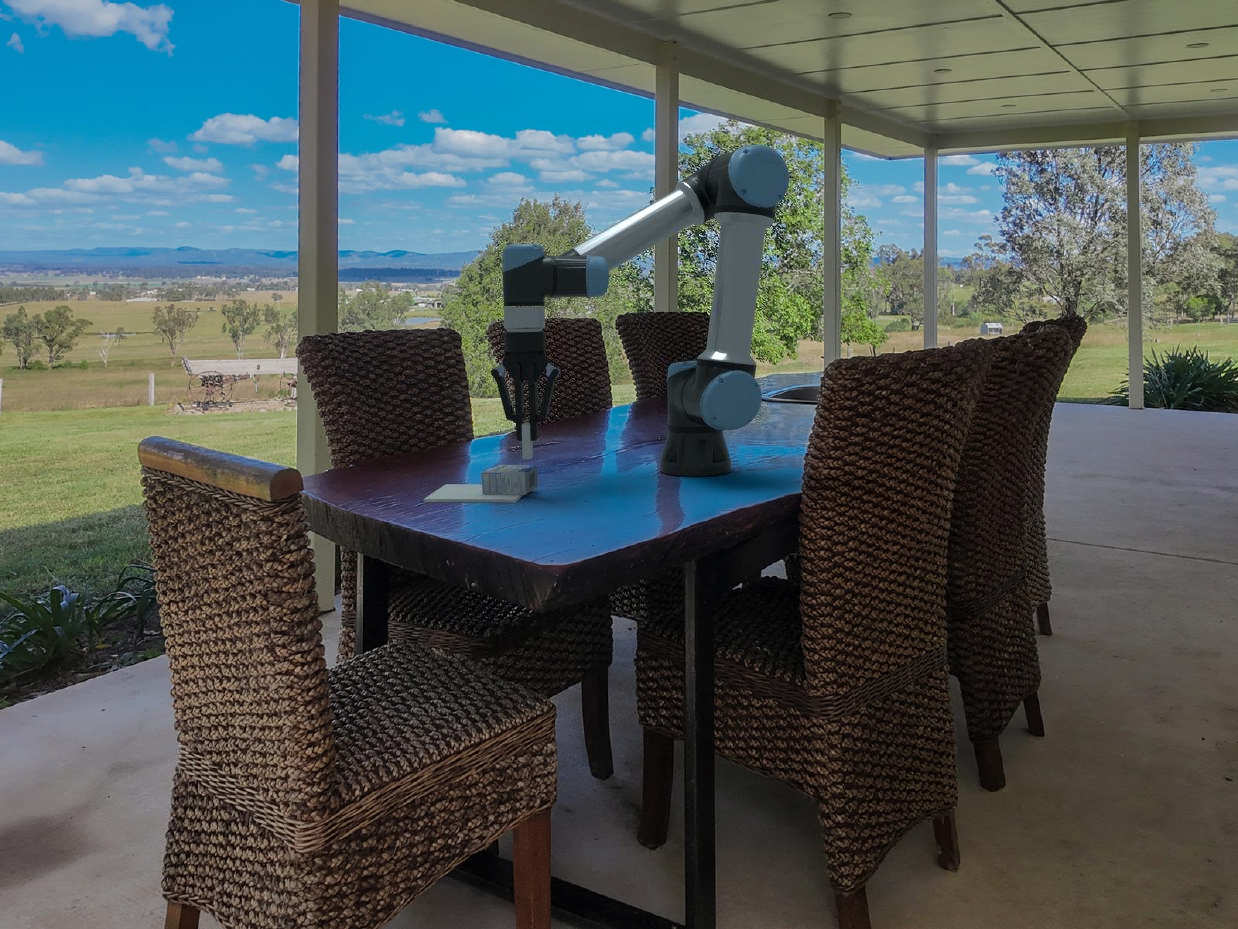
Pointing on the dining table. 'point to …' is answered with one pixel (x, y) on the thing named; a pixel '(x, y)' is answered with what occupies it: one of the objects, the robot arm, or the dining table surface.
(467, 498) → the mat
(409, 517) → the dining table surface
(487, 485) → the medicine box
